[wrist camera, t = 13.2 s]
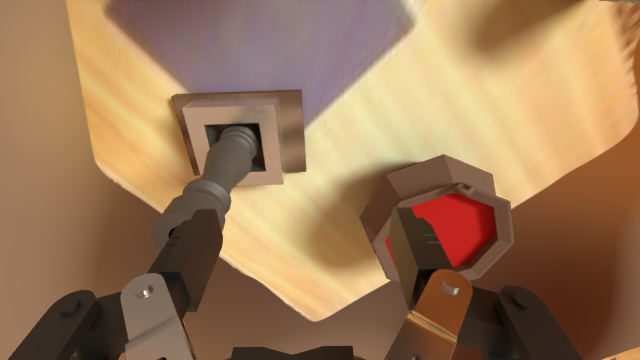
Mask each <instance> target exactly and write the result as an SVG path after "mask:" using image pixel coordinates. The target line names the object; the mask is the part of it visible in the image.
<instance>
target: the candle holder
mask: <svg viewBox="0 0 640 360" xmlns="http://www.w3.org/2000/svg"><path fill="white" fill-rule="evenodd" d="M261 144H262V139H261V132H260V128H259V127H258V125H257V124H255V123H238V124H229V125H228V126H227V127H226V128H225V130H224V131H223V132H222V134H221V136H220V139H219V142H217V143H215V144H213V145H212V147H211V148H210V149H209V151H208V152H207V156H206V161H205V166H204V171H203V174H202V176H201V177H200V178H199V179H196V180H194V181H191V182H189V183H188V185H187V186H186V187H185V188H184V190H183V195H180V196H178V197H176V198H174V199H173V200H172V202H171V203H170V204H169V206H168V207H167V208H166V210H165V211H164V212H163V213H162V215H161V216H160V217H159V219H158V220H157V221H156V223H155V224H154V225H153V231H152V236H153V238H154V240H155V242H156V244H157V245H158V246H159V247H160V248H161V249H163V247H165V244H166V242H167V241H168V239H170V236H171V235H172V233H173V231H174V230H175V228H176V227H178V226H179V225H180V224H181V223H182V222H184V221H185V220H190V219H191V218H192V216H193V214H194V213H195V211H196V210H197V209H215V210H216V212H217V215H218V219H219V223H220V227H221V230H222V231H223V228H224V224H225V214H226V213H227V212H228V211H229V209H230V205H231V197H230V193H231V190H232V189H233V188H234V187H235V186H236V185H237V184H238V183H239V182H241V181H242V180H243V179H244V178H245V177H246V176H247V175H248V173H249V172H250V170H251V166H252V159H253V158H254V157H255V156H256V155H257V153H258V151H259V149H260V147H261Z"/></svg>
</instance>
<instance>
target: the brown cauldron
mask: <svg viewBox="0 0 640 360" xmlns="http://www.w3.org/2000/svg"><path fill="white" fill-rule="evenodd" d="M406 206H410V207H411V208H412V209H413V212H414V214H415V216H416V218H424V219H425V220H426V221H428V222H429V223H430V224H431V225H432V227H433V229H434V231H435V233H436V236H437V237H438V239H439V241H440V243H441V245H442V247H443V249H444V251H445V253H446V255H447V257H448V259H449V260H450V262H451V264H452V266H453V268H454V270H455V271H456V272H458V273H460V274H461V275H463V276H464V277H465V278H466V279H467V280H468V281H470V280H473V279H477V278H480V277H481V276H482V275H483V274H484V273H485V272H486V271H487V270H488V269H489V268H490V267H491V266H492V265H493V264H494V263H495V262H496V261H497V259H499V258H500V257H501V256H502V255H503V254H504V253H505V252H506V251H507V250H508V249H509V248H510V247H511V245H512V244H514V236H513V226H512V215H511V205H510V201H508V200H505V199H503V198H500V197H498V196H496V193H495V187H494V181H493V175H492V174H491V173H488V172H486V171H483V170H481V169H479V168H476V167H474V166H471V165H469V164H466V163H464V162H462V161H459V160H457V159H454V158H452V157H449V156H447V155H445V154H443V155H440V156H437V157H435V158H432V159H429V160H426V161H423V162H420V163H418V164H415V165H412V166H409V167H406V168H403V169H400V170H398V171H395V172H392V173H389V174H386V175H385V177H384V178H383V180H382V181H381V183H380V185H379V186H378V188H377V190H376V191H375V193H374V195H373V196H372V198H371V200H370V201H369V203H368V205H367V206H366V208H365V210H364V211H363V213H362V215H361V216H360V220H361V222H362V224H363V227H364V229H365V231H366V234H367V236H368V238H369V240H370V243H371V245H372V247H373V250H374V252H375V254H376V255H377V257H378V259H379V262H380V264H381V266H382V269H383V271H384V273H385V276H386V278H387V279H390V280H393V281H396V282H400V279H399V275H398V272H397V268H396V265H395V262H394V258H393V255H392V251H391V248H390V244H389V229H390V222H391V216H392V210H393V207H406ZM400 283H401V282H400Z"/></svg>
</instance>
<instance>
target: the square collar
mask: <svg viewBox="0 0 640 360" xmlns="http://www.w3.org/2000/svg"><path fill="white" fill-rule="evenodd" d="M182 110H183V114H184V117H185V121H186V125H187V128H188V132H189V135H190V139H191V143H192V146H193V150H194V153H195V157H196V161H197V164H198V168H199V171H200V175H201V176H202V174H203V171H204V166H205V161H206V156H207V152H208V151H209V149H210V148H211V147H212V145H213V144H215V143H217V142H219V139H220V137H219V132H218V128H217V124H238V123H259V125H260V132H261V139H262V146H263V153H264V158H253V159H252V166H251V170H250V172H249V173H248V175H247V176H246V177H245V178H244V179H243V180H242V181H241V182H239V183H238V184H237V185H236V186H251V185H281V184H284V179H285V174H286V163H285V153H284V144H283V134H282V124H281V115H280V105H279V96H263V97H235V98H207V99H194V100H193V101H191V102H190V103H189V104H187V105H186V106H184V107H183V108H182Z"/></svg>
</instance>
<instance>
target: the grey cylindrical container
mask: <svg viewBox="0 0 640 360" xmlns="http://www.w3.org/2000/svg"><path fill="white" fill-rule="evenodd" d="M600 1H613V2H614V1H615V2H617V1H624V2H632V3H637V4H640V0H600Z"/></svg>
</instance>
